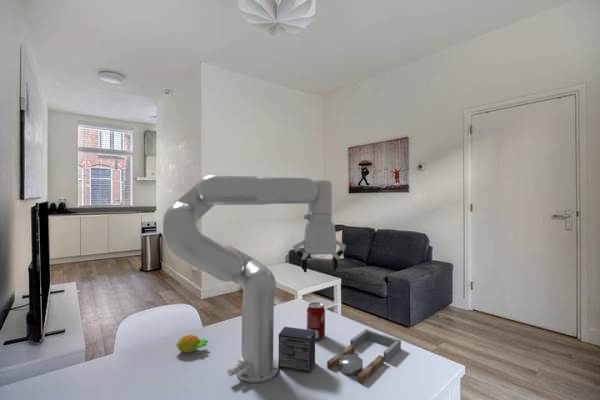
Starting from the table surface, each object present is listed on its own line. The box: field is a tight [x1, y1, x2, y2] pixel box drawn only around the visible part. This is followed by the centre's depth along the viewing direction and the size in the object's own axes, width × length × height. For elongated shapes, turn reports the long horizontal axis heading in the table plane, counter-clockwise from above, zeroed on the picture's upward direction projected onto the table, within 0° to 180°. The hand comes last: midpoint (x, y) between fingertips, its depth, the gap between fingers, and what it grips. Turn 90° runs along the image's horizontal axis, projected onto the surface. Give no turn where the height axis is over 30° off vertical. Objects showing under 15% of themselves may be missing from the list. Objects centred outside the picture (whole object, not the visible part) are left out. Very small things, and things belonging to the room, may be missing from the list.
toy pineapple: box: [175, 334, 209, 354], centre depth 101 cm, size 7×10×5 cm
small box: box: [278, 326, 316, 374], centre depth 93 cm, size 11×6×10 cm, turn 74°
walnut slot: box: [326, 344, 385, 385], centre depth 93 cm, size 14×12×2 cm
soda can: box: [306, 301, 326, 341], centre depth 112 cm, size 7×7×12 cm
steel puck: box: [338, 354, 364, 378], centre depth 91 cm, size 7×7×3 cm
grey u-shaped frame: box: [349, 328, 402, 363], centre depth 104 cm, size 11×13×3 cm
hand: (319, 270), depth 97 cm, fingers open, 9 cm apart
